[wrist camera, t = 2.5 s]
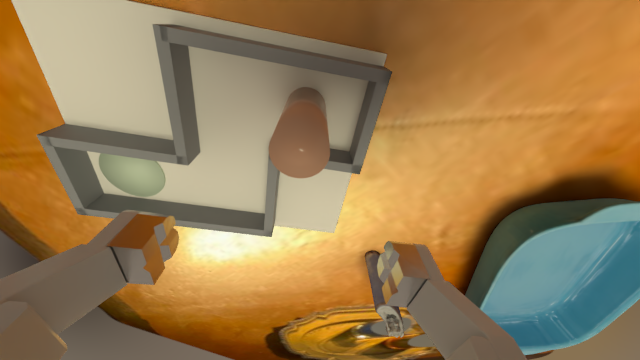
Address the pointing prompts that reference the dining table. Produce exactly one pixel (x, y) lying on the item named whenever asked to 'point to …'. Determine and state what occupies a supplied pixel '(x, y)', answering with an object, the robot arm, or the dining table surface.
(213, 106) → the channel
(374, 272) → the flask
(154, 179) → the pad
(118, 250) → the robot arm
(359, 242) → the dining table surface
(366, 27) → the dining table surface
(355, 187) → the dining table surface
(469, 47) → the dining table surface
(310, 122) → the peg
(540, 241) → the casserole dish
